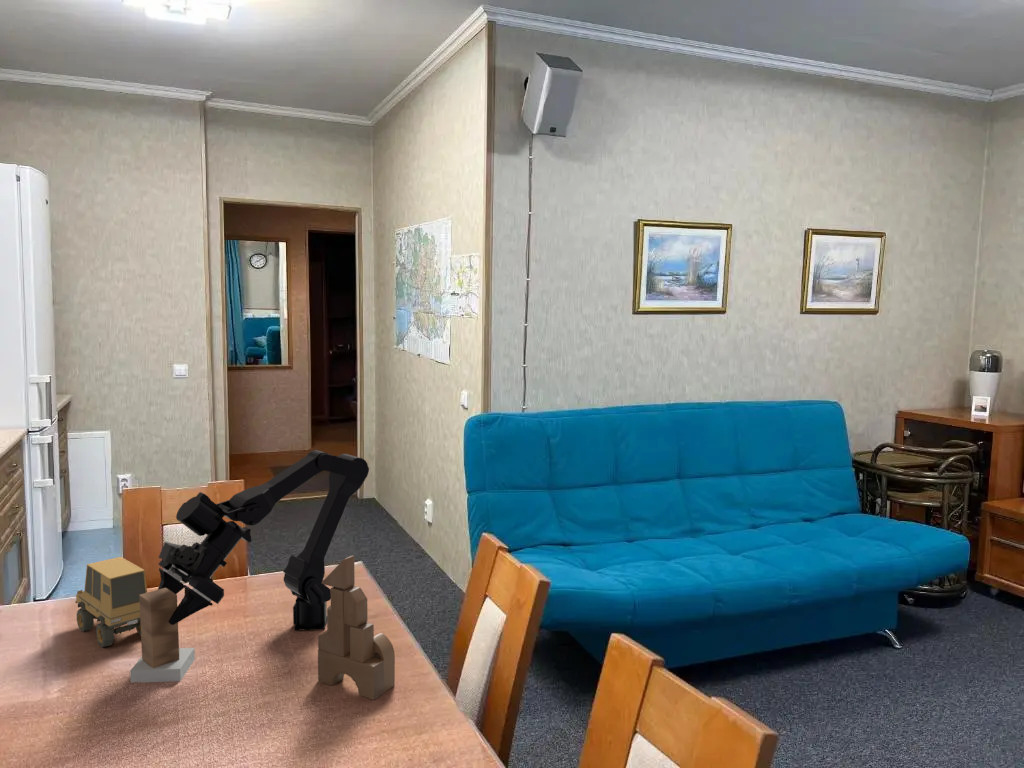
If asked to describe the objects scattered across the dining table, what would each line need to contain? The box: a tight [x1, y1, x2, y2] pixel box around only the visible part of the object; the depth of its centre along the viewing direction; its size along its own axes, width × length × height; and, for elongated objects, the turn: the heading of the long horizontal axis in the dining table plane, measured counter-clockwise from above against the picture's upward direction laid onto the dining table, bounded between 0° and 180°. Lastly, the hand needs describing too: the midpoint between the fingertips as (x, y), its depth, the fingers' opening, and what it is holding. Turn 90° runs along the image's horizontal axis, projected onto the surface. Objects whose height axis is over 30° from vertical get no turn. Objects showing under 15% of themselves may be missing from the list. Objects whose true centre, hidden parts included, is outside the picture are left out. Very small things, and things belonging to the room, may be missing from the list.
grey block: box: [129, 647, 196, 684], centre depth 152 cm, size 9×9×3 cm
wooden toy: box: [317, 555, 396, 701], centre depth 147 cm, size 15×7×25 cm, turn 60°
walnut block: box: [139, 588, 180, 668], centre depth 151 cm, size 5×5×13 cm
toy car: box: [75, 556, 148, 648], centre depth 168 cm, size 10×19×15 cm, turn 48°
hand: (160, 616), depth 151 cm, fingers open, 9 cm apart
